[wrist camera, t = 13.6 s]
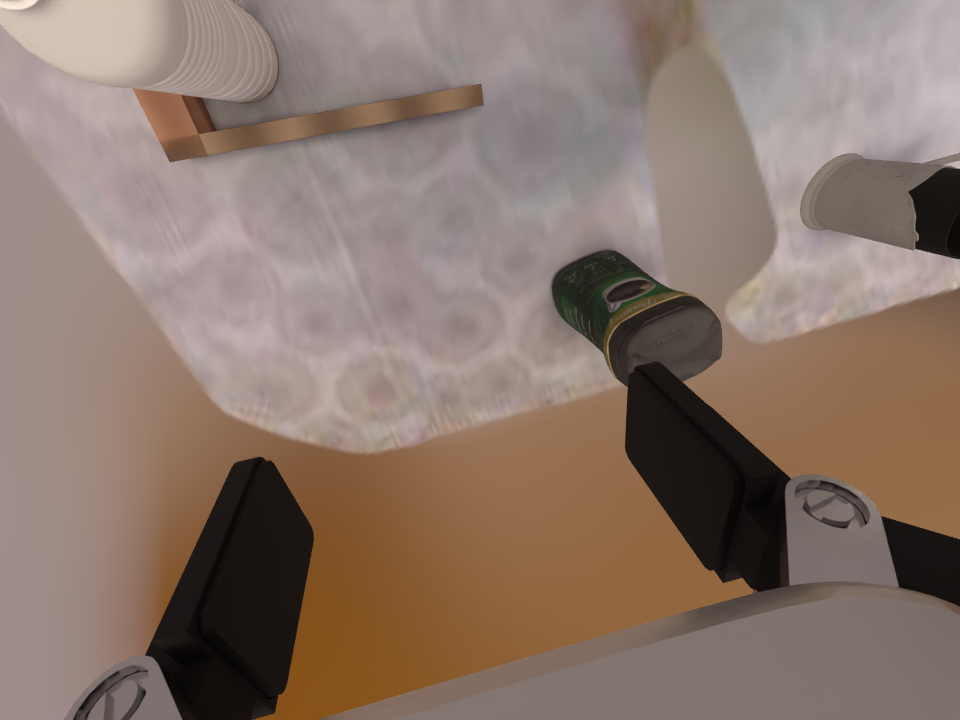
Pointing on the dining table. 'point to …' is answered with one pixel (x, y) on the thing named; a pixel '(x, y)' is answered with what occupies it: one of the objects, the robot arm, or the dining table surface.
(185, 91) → the water bottle
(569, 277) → the coffee jar
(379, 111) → the channel
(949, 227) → the glass holder
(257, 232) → the dining table surface
